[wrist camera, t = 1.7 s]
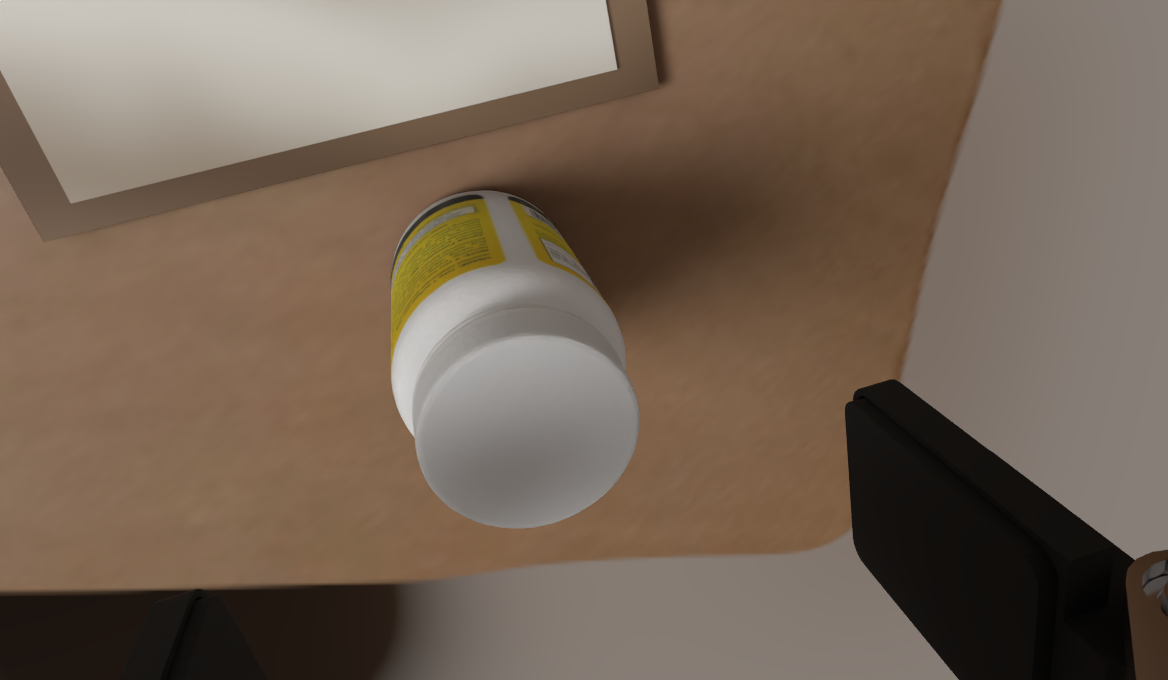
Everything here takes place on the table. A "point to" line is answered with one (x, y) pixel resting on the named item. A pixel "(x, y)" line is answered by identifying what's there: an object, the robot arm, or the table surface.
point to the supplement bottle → (507, 363)
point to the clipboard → (279, 90)
